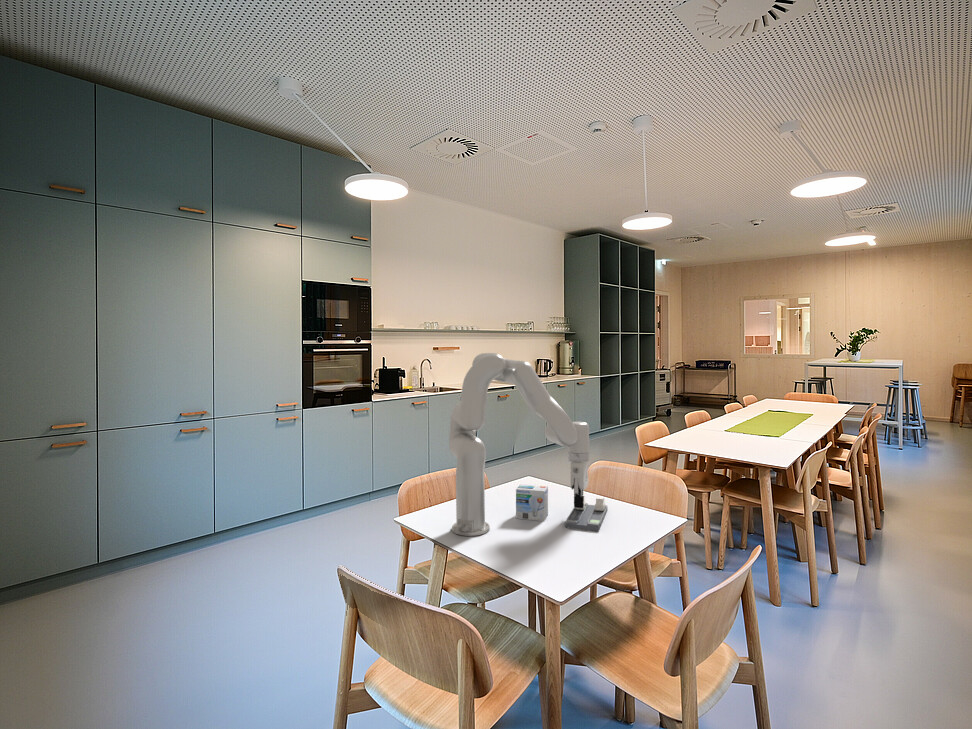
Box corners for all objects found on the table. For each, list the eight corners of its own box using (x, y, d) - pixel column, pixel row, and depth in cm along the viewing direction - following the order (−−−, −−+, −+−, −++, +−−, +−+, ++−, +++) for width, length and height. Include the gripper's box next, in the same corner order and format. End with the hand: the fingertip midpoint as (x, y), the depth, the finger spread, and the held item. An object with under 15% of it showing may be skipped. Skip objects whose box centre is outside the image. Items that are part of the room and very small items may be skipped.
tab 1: (583, 509, 181) (583, 498, 181) (575, 508, 182) (575, 498, 182) (585, 506, 185) (585, 495, 185) (577, 505, 186) (577, 495, 186)
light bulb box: (515, 518, 178) (515, 488, 178) (519, 513, 184) (519, 483, 184) (545, 521, 175) (545, 490, 175) (548, 515, 181) (548, 485, 181)
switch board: (599, 531, 164) (599, 525, 164) (565, 527, 168) (565, 521, 168) (607, 510, 186) (607, 504, 186) (577, 507, 190) (577, 502, 190)
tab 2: (603, 510, 180) (603, 499, 179) (595, 510, 181) (595, 499, 181) (605, 507, 183) (605, 496, 183) (596, 506, 184) (596, 496, 184)
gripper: (585, 461, 172) (585, 514, 172) (592, 453, 186) (592, 502, 186) (563, 460, 174) (564, 512, 175) (572, 451, 188) (572, 500, 189)
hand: (578, 507), depth 180 cm, fingers closed
